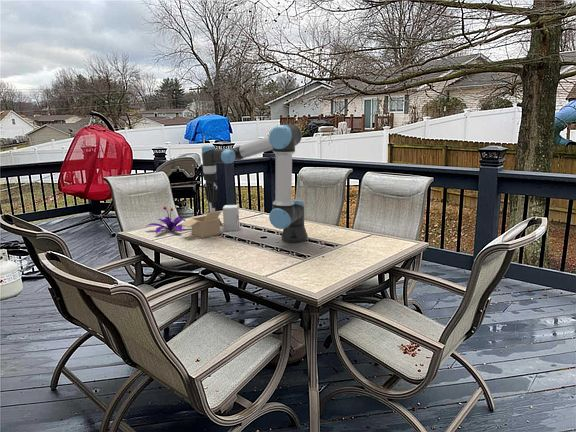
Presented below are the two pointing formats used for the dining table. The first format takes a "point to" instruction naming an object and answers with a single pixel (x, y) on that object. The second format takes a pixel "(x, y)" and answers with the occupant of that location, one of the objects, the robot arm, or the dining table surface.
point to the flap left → (190, 222)
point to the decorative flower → (169, 223)
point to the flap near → (212, 215)
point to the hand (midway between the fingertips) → (212, 213)
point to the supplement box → (231, 217)
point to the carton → (206, 227)
